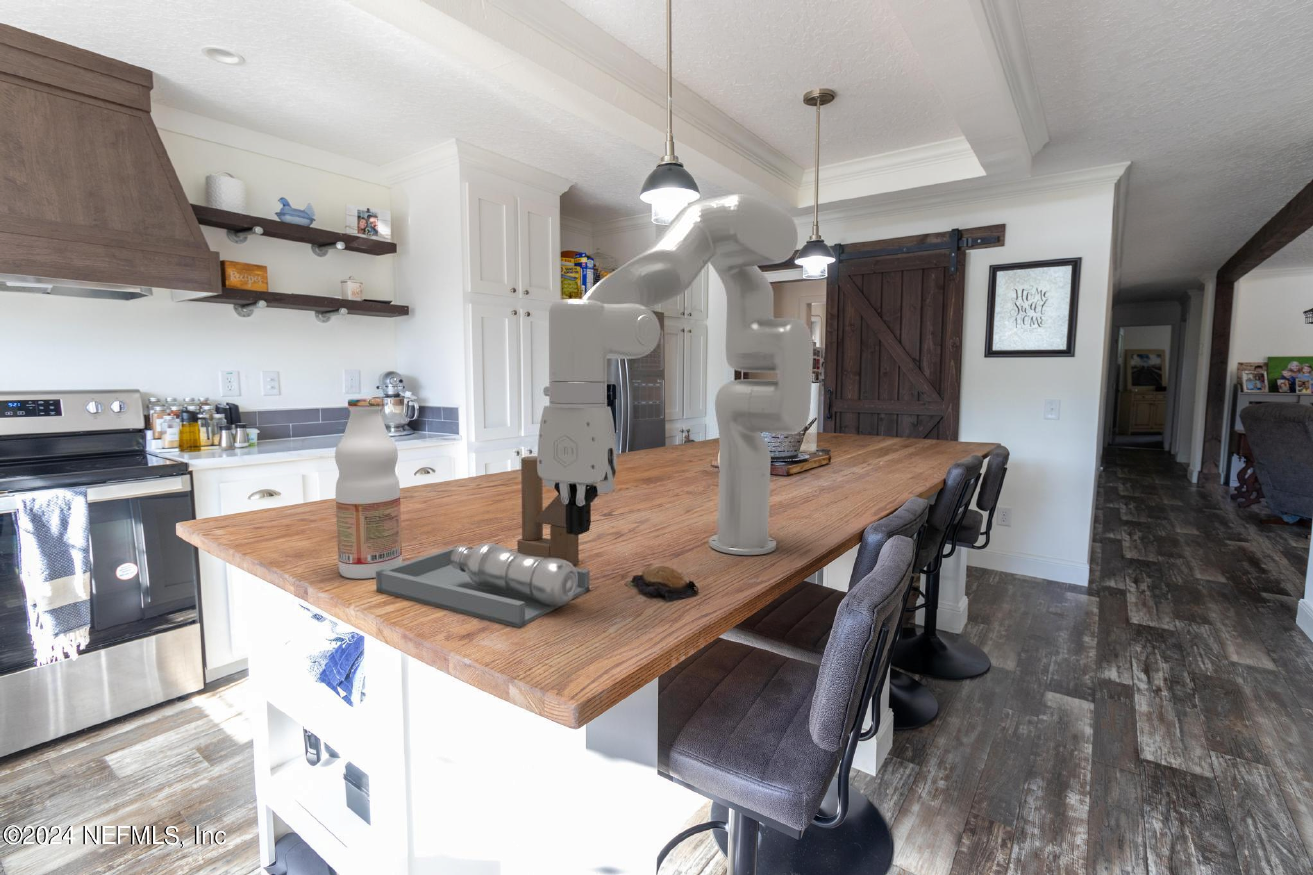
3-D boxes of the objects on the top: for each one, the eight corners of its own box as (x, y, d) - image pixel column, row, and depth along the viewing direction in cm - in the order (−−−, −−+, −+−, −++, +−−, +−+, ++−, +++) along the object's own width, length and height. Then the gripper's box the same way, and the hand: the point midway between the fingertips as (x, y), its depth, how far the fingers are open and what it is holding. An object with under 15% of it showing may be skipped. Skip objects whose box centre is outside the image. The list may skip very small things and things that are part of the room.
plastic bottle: (551, 593, 79) (435, 561, 87) (567, 619, 84) (456, 587, 92) (574, 552, 83) (461, 526, 91) (588, 580, 88) (479, 552, 96)
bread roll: (620, 588, 95) (620, 565, 95) (663, 578, 100) (663, 555, 100) (661, 609, 86) (661, 583, 86) (706, 596, 91) (706, 572, 91)
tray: (457, 562, 105) (457, 545, 104) (589, 589, 92) (589, 570, 92) (376, 591, 91) (375, 571, 90) (519, 628, 78) (518, 605, 78)
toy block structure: (566, 570, 102) (566, 462, 100) (516, 560, 107) (515, 457, 105) (579, 564, 105) (579, 459, 103) (530, 554, 110) (529, 455, 108)
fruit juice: (326, 579, 95) (318, 399, 93) (356, 561, 105) (350, 397, 102) (386, 580, 95) (380, 400, 92) (411, 562, 105) (406, 398, 102)
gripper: (514, 395, 81) (516, 531, 82) (611, 398, 74) (611, 547, 76) (549, 393, 87) (550, 520, 89) (641, 396, 80) (640, 533, 82)
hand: (578, 532), depth 82 cm, fingers closed
